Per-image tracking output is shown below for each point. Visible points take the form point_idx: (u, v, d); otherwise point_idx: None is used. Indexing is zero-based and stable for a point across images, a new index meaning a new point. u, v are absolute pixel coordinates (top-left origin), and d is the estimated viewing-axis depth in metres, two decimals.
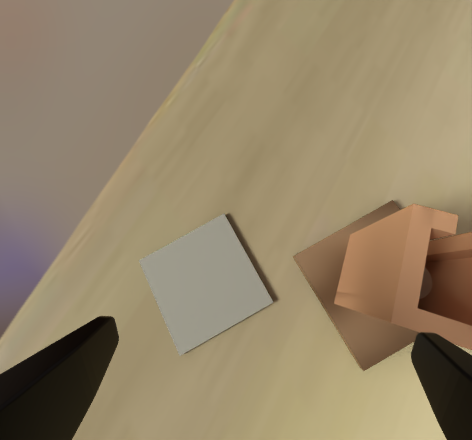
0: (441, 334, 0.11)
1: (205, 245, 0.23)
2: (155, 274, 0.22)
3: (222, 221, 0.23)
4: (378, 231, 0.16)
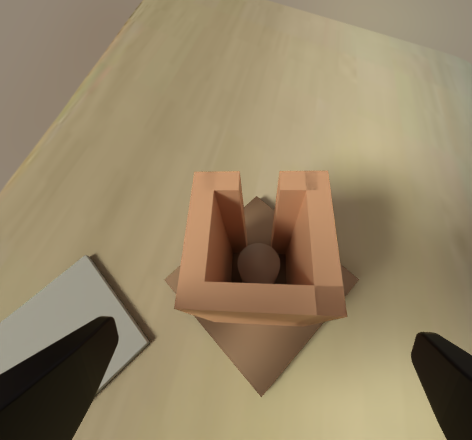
0: (233, 305, 0.09)
1: (63, 296, 0.19)
2: None
3: (83, 264, 0.20)
4: None
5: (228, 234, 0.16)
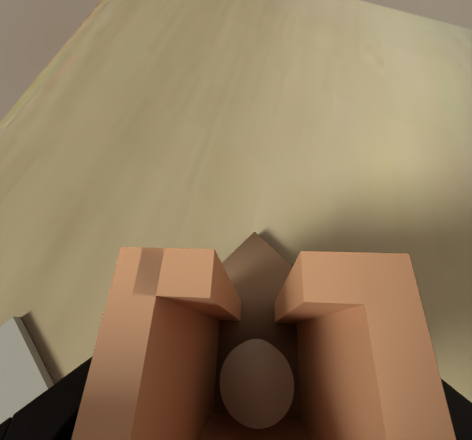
0: None
1: None
2: None
3: (8, 331, 0.14)
4: None
5: (207, 314, 0.10)
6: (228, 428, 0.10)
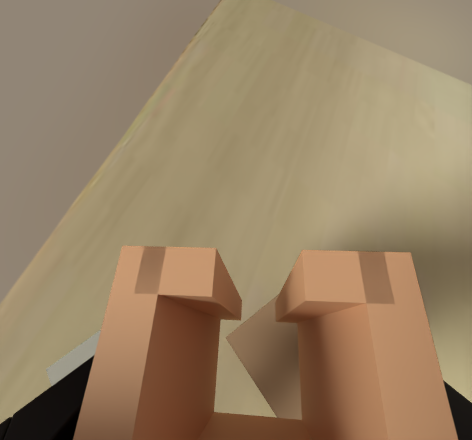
0: None
1: None
2: None
3: None
4: None
5: (208, 314, 0.10)
6: (229, 427, 0.10)
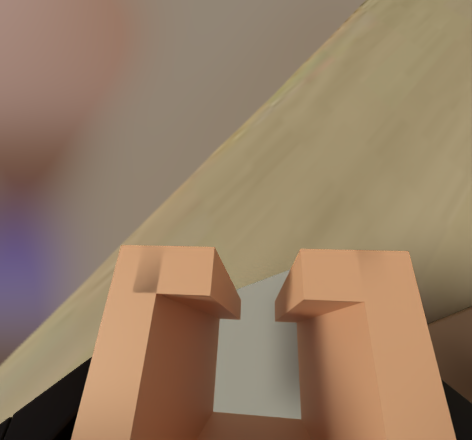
0: None
1: (264, 306, 0.18)
2: None
3: None
4: None
5: (208, 313, 0.10)
6: (228, 427, 0.10)
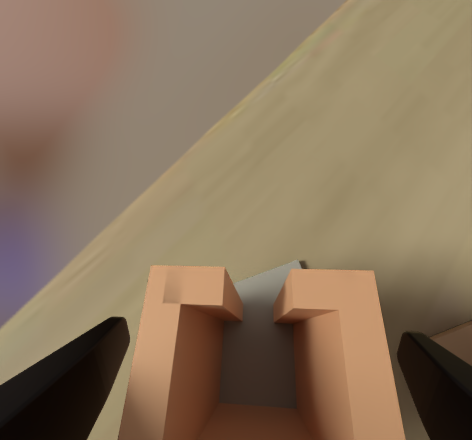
0: None
1: (265, 303, 0.15)
2: None
3: None
4: None
5: (215, 316, 0.11)
6: (233, 414, 0.11)
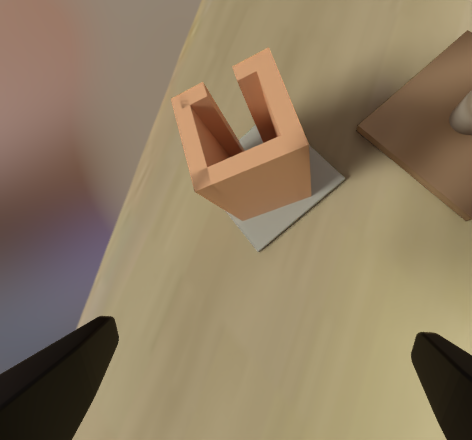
0: (231, 172, 0.12)
1: (259, 144, 0.22)
2: None
3: None
4: None
5: (223, 146, 0.19)
6: None
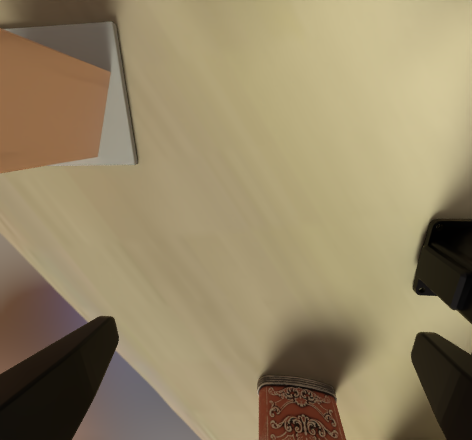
0: None
1: None
2: None
3: None
4: None
5: None
6: None
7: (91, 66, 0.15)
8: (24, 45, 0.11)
